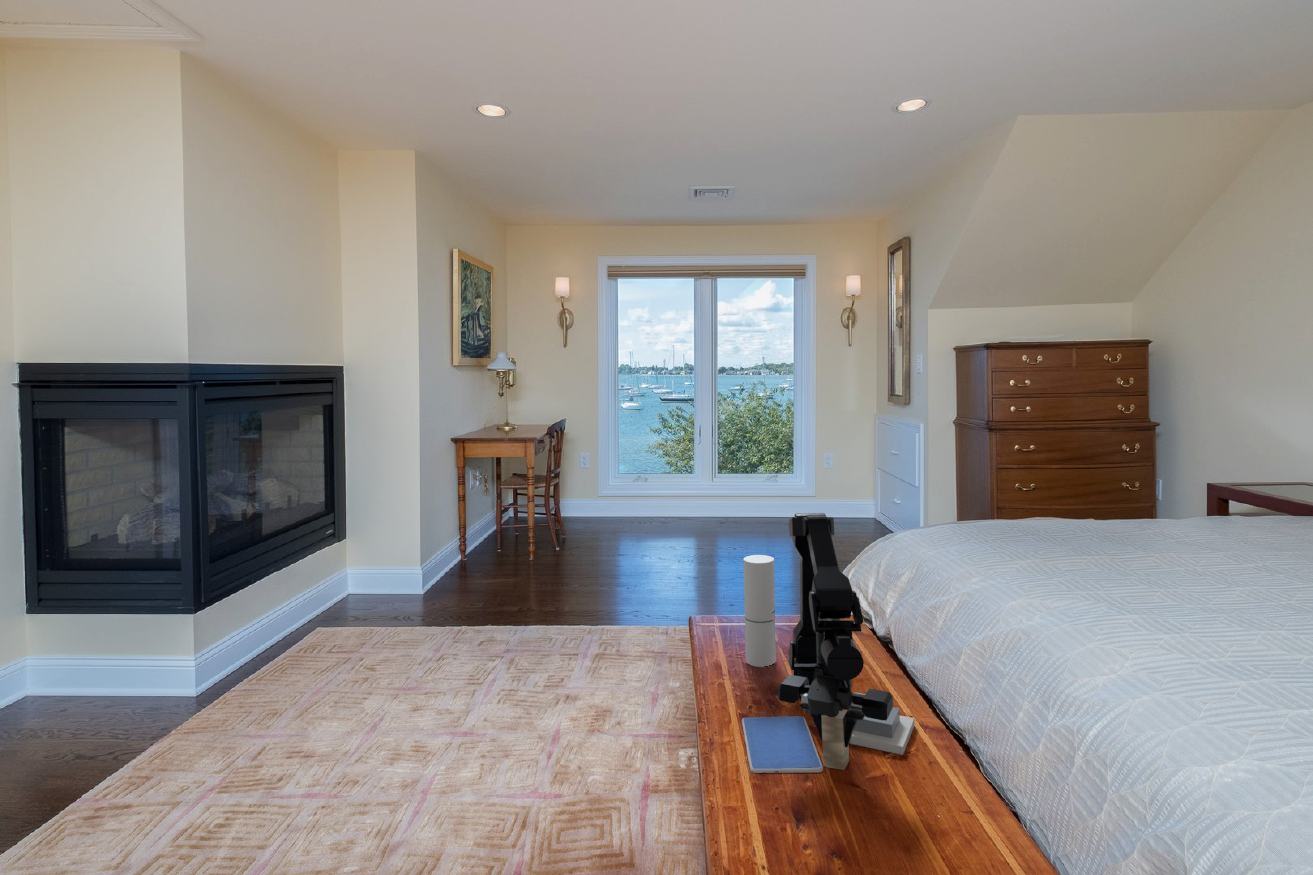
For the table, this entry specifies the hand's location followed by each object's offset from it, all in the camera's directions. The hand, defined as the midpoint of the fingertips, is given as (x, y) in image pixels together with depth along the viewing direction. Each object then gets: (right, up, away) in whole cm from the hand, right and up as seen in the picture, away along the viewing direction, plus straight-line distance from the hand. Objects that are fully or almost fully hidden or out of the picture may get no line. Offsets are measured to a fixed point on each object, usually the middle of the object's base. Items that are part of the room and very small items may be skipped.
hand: (835, 743), depth 124 cm
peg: (0, -4, 0) cm, 4 cm away
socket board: (+10, -3, +11) cm, 15 cm away
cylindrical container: (-6, 0, +47) cm, 47 cm away
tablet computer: (-8, -4, +8) cm, 12 cm away
